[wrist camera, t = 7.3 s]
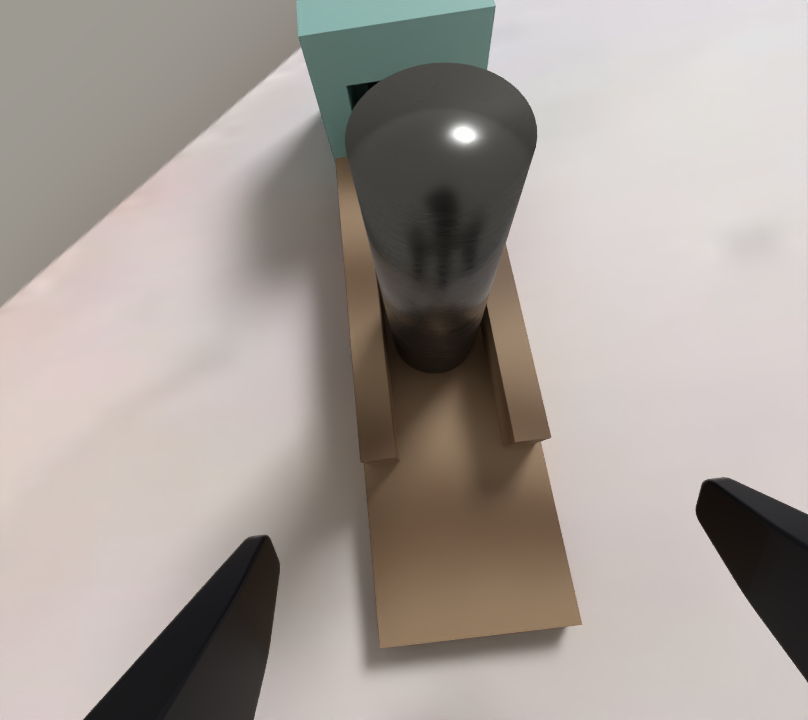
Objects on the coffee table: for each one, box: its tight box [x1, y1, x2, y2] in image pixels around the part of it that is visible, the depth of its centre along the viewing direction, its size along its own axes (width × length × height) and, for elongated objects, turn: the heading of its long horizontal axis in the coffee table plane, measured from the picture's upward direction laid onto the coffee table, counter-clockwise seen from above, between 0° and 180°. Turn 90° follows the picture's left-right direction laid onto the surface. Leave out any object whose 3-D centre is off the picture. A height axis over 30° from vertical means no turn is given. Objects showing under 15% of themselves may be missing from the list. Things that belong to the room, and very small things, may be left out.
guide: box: [335, 157, 582, 648], centre depth 16 cm, size 19×7×3 cm, turn 7°
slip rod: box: [345, 63, 537, 373], centre depth 13 cm, size 15×3×10 cm, turn 7°
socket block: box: [296, 0, 496, 164], centre depth 18 cm, size 6×7×7 cm
